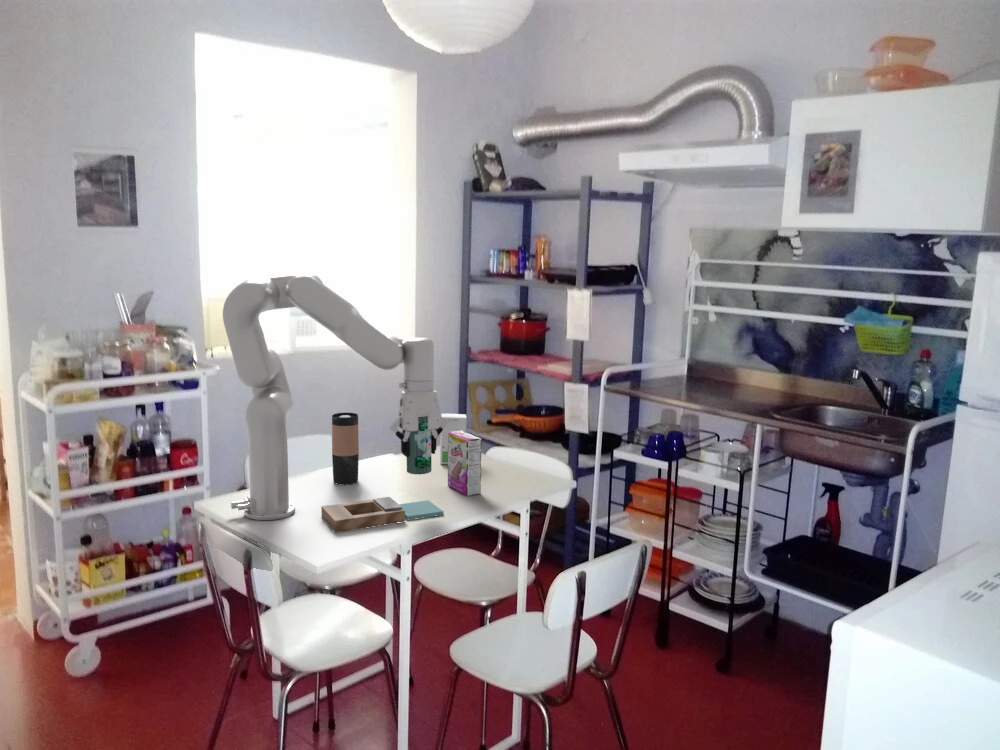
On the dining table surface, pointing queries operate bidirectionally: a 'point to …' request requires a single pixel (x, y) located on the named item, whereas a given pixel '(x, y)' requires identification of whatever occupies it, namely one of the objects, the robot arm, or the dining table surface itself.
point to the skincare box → (454, 424)
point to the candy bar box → (464, 462)
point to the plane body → (362, 514)
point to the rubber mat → (420, 509)
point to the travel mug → (345, 448)
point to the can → (420, 449)
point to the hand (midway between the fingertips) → (418, 453)
